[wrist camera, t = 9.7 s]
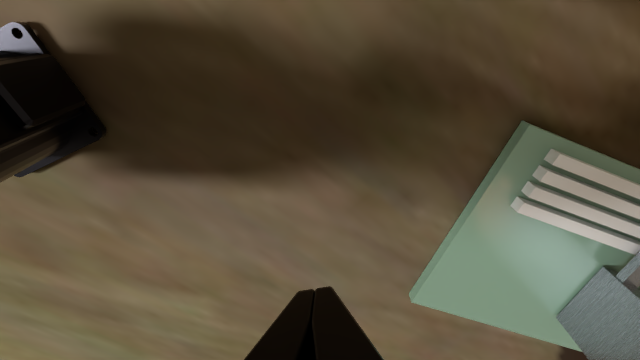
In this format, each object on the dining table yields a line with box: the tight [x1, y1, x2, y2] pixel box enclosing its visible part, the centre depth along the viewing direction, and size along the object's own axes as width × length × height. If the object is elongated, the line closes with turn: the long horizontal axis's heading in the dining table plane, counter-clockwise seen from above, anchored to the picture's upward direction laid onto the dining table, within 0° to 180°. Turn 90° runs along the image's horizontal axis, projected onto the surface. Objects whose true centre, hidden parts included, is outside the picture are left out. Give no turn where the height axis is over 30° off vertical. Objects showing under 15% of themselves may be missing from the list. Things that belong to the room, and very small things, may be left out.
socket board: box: [409, 121, 640, 352], centre depth 22 cm, size 18×14×4 cm
